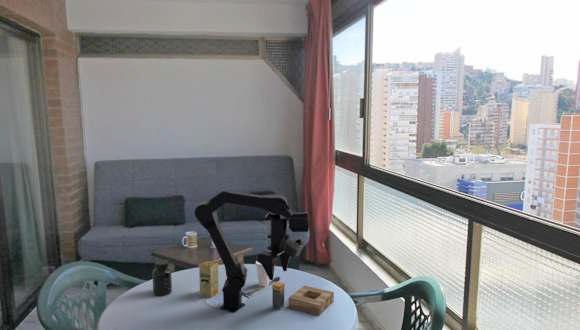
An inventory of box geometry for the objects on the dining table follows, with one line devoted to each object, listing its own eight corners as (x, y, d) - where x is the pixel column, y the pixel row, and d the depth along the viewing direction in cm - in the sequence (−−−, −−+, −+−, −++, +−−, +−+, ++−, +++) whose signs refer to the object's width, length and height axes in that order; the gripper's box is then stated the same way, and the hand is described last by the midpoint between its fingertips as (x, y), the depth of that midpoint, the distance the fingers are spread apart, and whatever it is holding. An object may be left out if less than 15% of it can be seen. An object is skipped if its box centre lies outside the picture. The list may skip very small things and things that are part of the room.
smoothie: (275, 284, 164) (274, 250, 162) (265, 290, 159) (265, 255, 157) (262, 280, 168) (262, 247, 166) (252, 286, 162) (252, 251, 161)
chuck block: (319, 315, 139) (319, 305, 139) (288, 306, 145) (288, 297, 145) (333, 301, 149) (333, 292, 149) (304, 294, 155) (304, 285, 155)
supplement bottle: (149, 294, 154) (147, 264, 153) (161, 287, 160) (160, 258, 159) (164, 298, 152) (163, 266, 150) (175, 290, 158) (174, 260, 156)
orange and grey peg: (279, 310, 143) (279, 286, 142) (272, 308, 144) (272, 284, 143) (284, 306, 145) (284, 283, 144) (276, 304, 147) (276, 281, 146)
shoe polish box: (207, 290, 158) (207, 260, 157) (218, 292, 156) (218, 262, 155) (199, 295, 154) (199, 264, 152) (210, 297, 152) (210, 266, 150)
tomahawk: (252, 302, 151) (252, 299, 150) (239, 296, 155) (240, 293, 154) (289, 283, 166) (289, 281, 166) (277, 278, 171) (277, 275, 170)
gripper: (285, 242, 129) (284, 290, 131) (311, 228, 146) (310, 271, 147) (255, 237, 135) (255, 282, 137) (284, 224, 151) (284, 265, 153)
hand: (278, 275), depth 143 cm, fingers open, 9 cm apart
